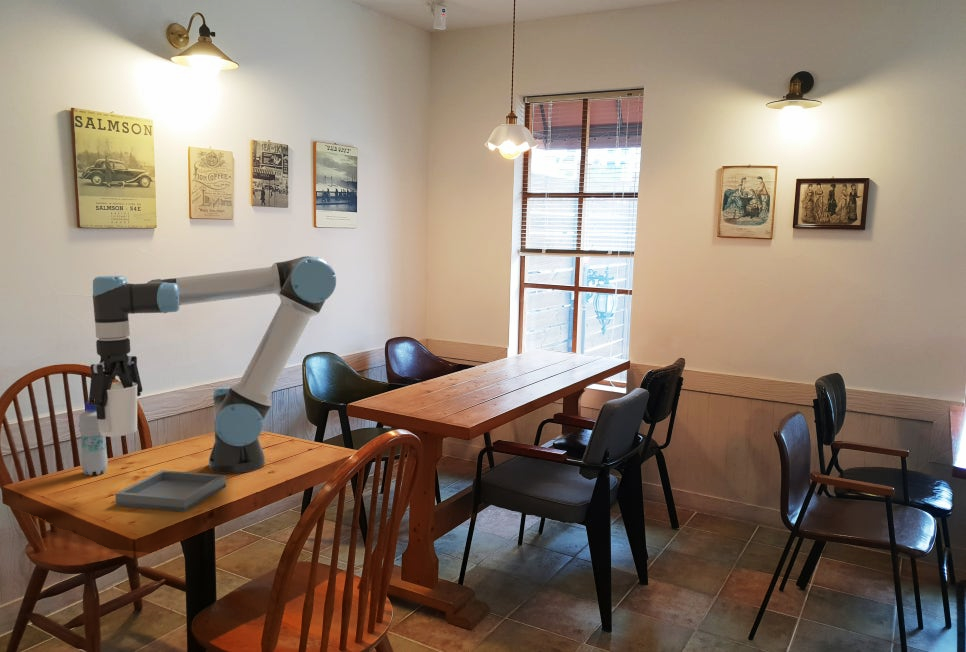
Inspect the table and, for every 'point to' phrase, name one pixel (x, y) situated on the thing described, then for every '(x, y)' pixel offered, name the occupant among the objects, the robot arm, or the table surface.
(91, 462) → the bottle
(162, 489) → the tray
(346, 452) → the table surface
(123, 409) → the candle holder
